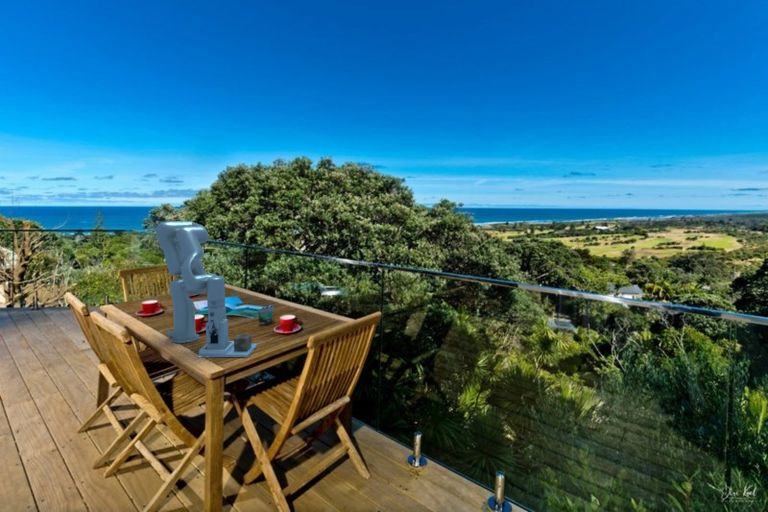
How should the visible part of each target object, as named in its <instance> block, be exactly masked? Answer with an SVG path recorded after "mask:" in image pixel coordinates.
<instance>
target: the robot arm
mask: <svg viewBox="0 0 768 512" xmlns="http://www.w3.org/2000/svg"><path fill="white" fill-rule="evenodd" d="M155 236H156V240H157V242H158V244H159V246H160V247H161V249H162V252H163V254H164V259H165V263H166V267H167V269H168V273H169V275H171V276H174V277H179V276H181V277H179V278H174V279H173V280H172V281H171V282H170V284H169V291H170V296H171V301H172V312H173V314H172V315H173V330H167V331H166V335H167V337H168V336H169V337H170V336H171V338H170V340H171V342H172V341H173V342H172V343H174V342H177V343H176V344H187V343H191V342H194V341H197V340H199V339H200V335H199V334H198V333H196V332H197V331H196V314H195V311H196V310H195V303H194V301H193V300H192V299H191V298H190V296H196V295H200V294H204V293H206V301H207V308H208V311H207V314H208V315H207V322H208V327H209V333H210V341H211V343H212V344H217V343H218V335H217V329H220V328H221V322H223V321H224V320H225V319H227V310H226V289H225V278H224V276H222V275H221V276H220V275H217V274H215V273H206V272H205V268H204V265H203V261H202V260H201V259H202V258H203V257H204V255H205V252H204V249H203V247H202V245H201V244H205V243H206V242H207V241H208V240H209V232H208V230H207V229H206V228H205V226H203V225H201V224H199V223H196V222H194V221H191V220H179V221H178V220H175V221H173V220H172V221H171V220H170V221H163V222H160V223H158V225H157V226H156V229H155ZM213 327H216V328H213ZM213 330H215V331H213ZM186 342H187V343H186Z"/></svg>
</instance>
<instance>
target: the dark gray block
mask: <svg viewBox="0 0 768 512" xmlns="http://www.w3.org/2000/svg"><path fill="white" fill-rule="evenodd" d="M233 341H234V351H248V350H249V349H250V348H251V347H252V346H251V344H252V334H245V333H244V334H242V333H240V334H237V335H236V336H235V337H233Z"/></svg>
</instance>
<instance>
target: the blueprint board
mask: <svg viewBox="0 0 768 512" xmlns="http://www.w3.org/2000/svg"><path fill="white" fill-rule="evenodd" d="M251 346H252V347H251V348H250V349H249V350H248V351H234V340H229V345H228V347H227V348H226V349H225V350H216V349H207V343H206V344H205V345H204V346H202V347H201V348H200V349H199V350H198V354H197V355H198V356H210V357H248V356H249V355H250V354H251V353H254V351H255V350H256V349H257V348H256V347H258V343H251ZM255 348H256V349H255ZM254 349H255V350H254ZM251 355H252V354H251ZM251 355H250V356H251ZM250 356H249V357H250ZM210 357H209V358H210ZM249 357H248V358H249Z"/></svg>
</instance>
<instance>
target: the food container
mask: <svg viewBox="0 0 768 512" xmlns="http://www.w3.org/2000/svg"><path fill="white" fill-rule="evenodd" d="M274 310H275V307H274V305H273V304H271V303H267V305H266V306H262V307H261V308H257V316H258V325H259V326H268V325H271V324H273V315H274V313H273V311H274Z"/></svg>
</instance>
